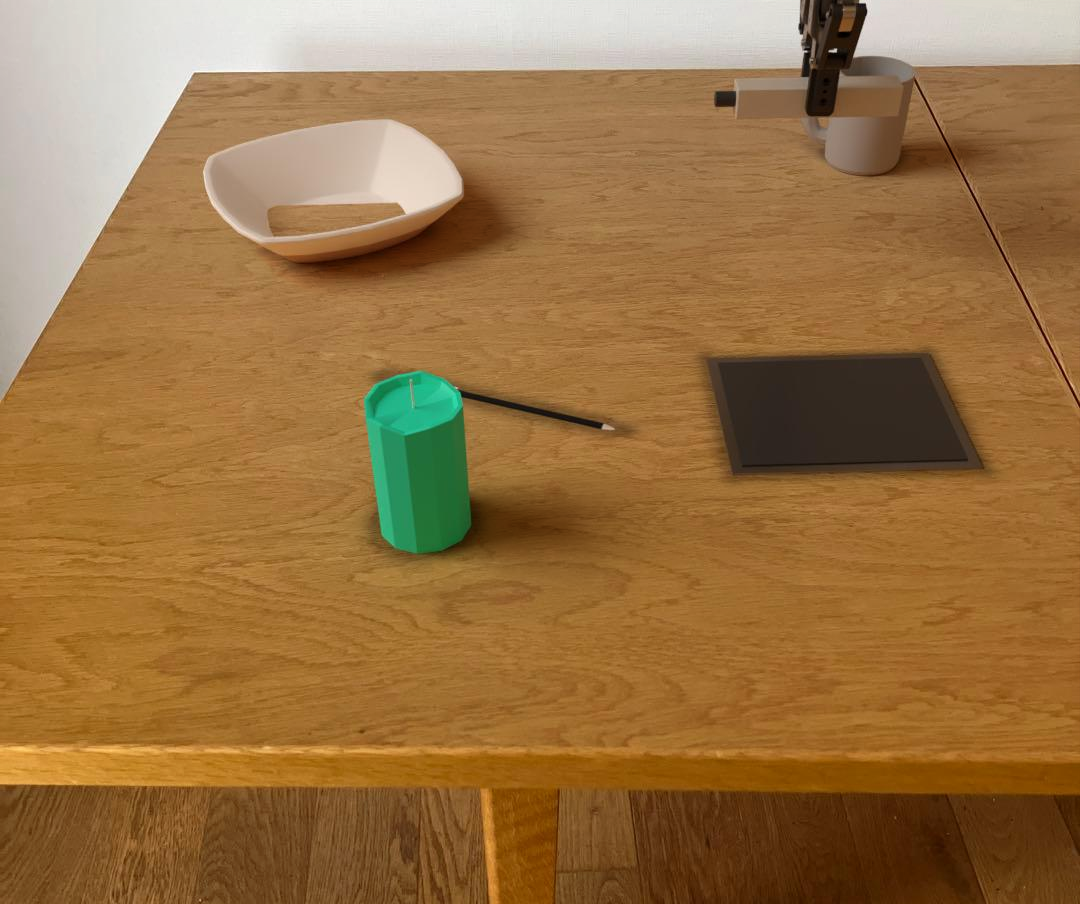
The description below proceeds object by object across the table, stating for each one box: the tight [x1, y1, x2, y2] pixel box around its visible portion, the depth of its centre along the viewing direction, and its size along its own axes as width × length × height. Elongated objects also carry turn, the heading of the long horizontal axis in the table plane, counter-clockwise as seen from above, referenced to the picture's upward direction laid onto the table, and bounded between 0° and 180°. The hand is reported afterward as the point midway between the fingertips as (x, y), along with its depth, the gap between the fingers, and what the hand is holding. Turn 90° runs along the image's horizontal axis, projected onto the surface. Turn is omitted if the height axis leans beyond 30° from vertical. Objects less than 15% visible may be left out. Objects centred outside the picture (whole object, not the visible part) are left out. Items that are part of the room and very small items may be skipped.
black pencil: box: [454, 386, 615, 431], centre depth 87 cm, size 1×19×1 cm, turn 68°
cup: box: [801, 55, 916, 177], centre depth 116 cm, size 7×10×9 cm
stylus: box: [713, 76, 904, 120], centre depth 96 cm, size 15×2×2 cm, turn 90°
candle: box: [363, 370, 472, 555], centre depth 74 cm, size 6×6×12 cm
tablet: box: [705, 352, 984, 476], centre depth 86 cm, size 17×14×1 cm
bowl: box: [202, 118, 465, 264], centre depth 108 cm, size 22×22×5 cm
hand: (815, 106), depth 96 cm, fingers closed on stylus, 2 cm apart
